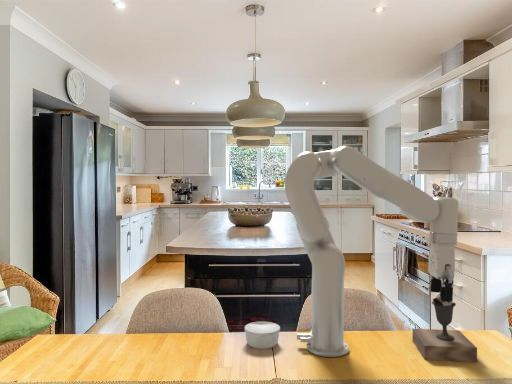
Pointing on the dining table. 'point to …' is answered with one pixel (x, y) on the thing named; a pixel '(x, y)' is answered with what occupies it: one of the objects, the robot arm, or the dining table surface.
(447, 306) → the sundae
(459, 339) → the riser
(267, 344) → the ramekin
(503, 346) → the dining table surface
